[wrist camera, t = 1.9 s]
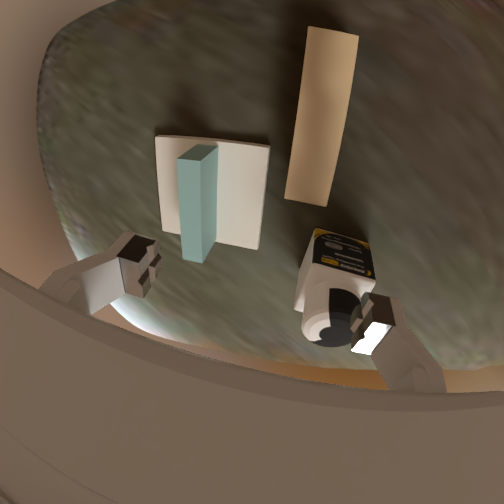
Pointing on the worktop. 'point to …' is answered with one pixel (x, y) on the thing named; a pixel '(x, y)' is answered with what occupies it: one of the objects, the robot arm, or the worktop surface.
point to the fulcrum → (211, 191)
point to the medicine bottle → (332, 286)
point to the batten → (320, 114)
